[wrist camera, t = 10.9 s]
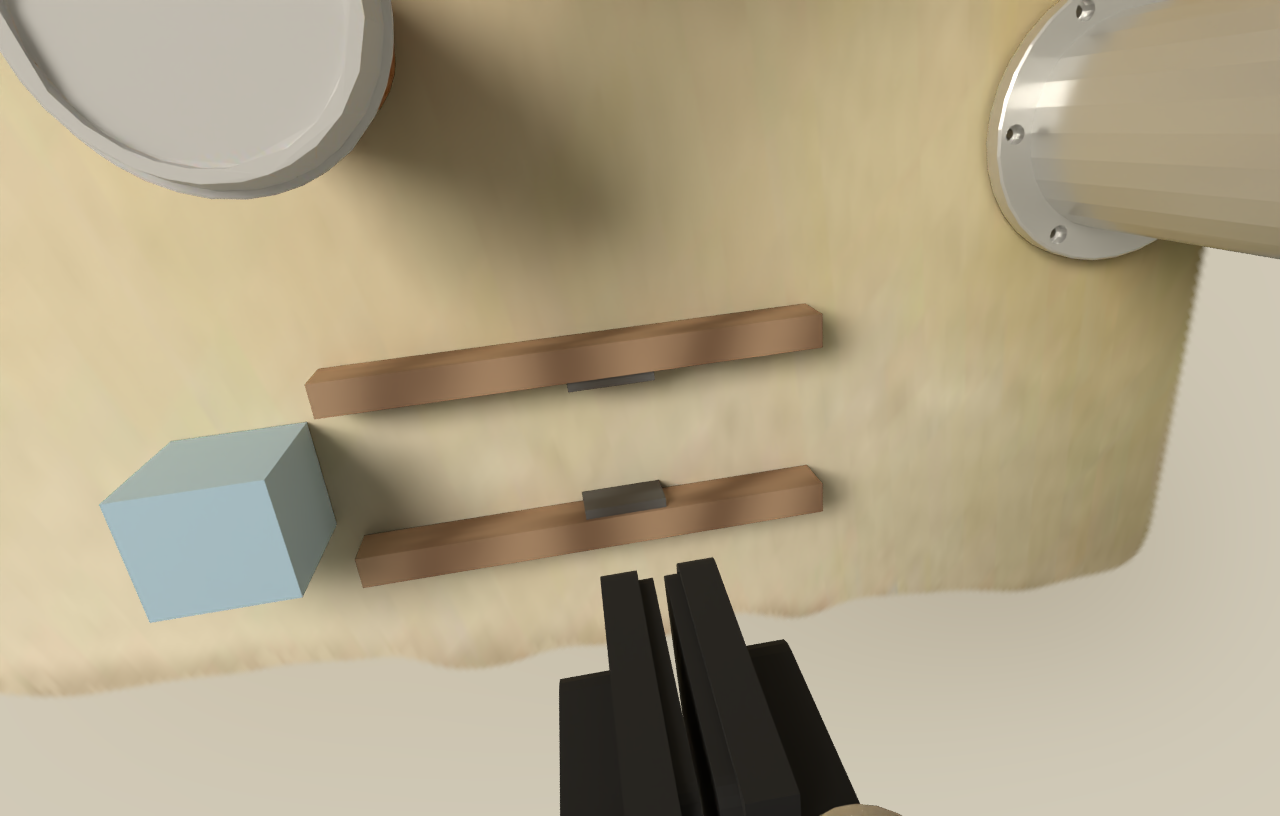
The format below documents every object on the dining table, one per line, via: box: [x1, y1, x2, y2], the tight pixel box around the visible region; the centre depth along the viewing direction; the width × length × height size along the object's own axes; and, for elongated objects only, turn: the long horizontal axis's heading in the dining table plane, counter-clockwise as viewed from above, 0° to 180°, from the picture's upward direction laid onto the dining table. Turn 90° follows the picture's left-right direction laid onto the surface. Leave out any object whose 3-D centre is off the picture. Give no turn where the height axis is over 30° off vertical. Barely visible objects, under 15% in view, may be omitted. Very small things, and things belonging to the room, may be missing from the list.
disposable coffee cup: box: [0, 0, 395, 199], centre depth 23 cm, size 10×10×12 cm
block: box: [99, 422, 337, 623], centre depth 31 cm, size 6×6×6 cm
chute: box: [305, 304, 823, 588], centre depth 35 cm, size 23×10×2 cm, turn 96°
